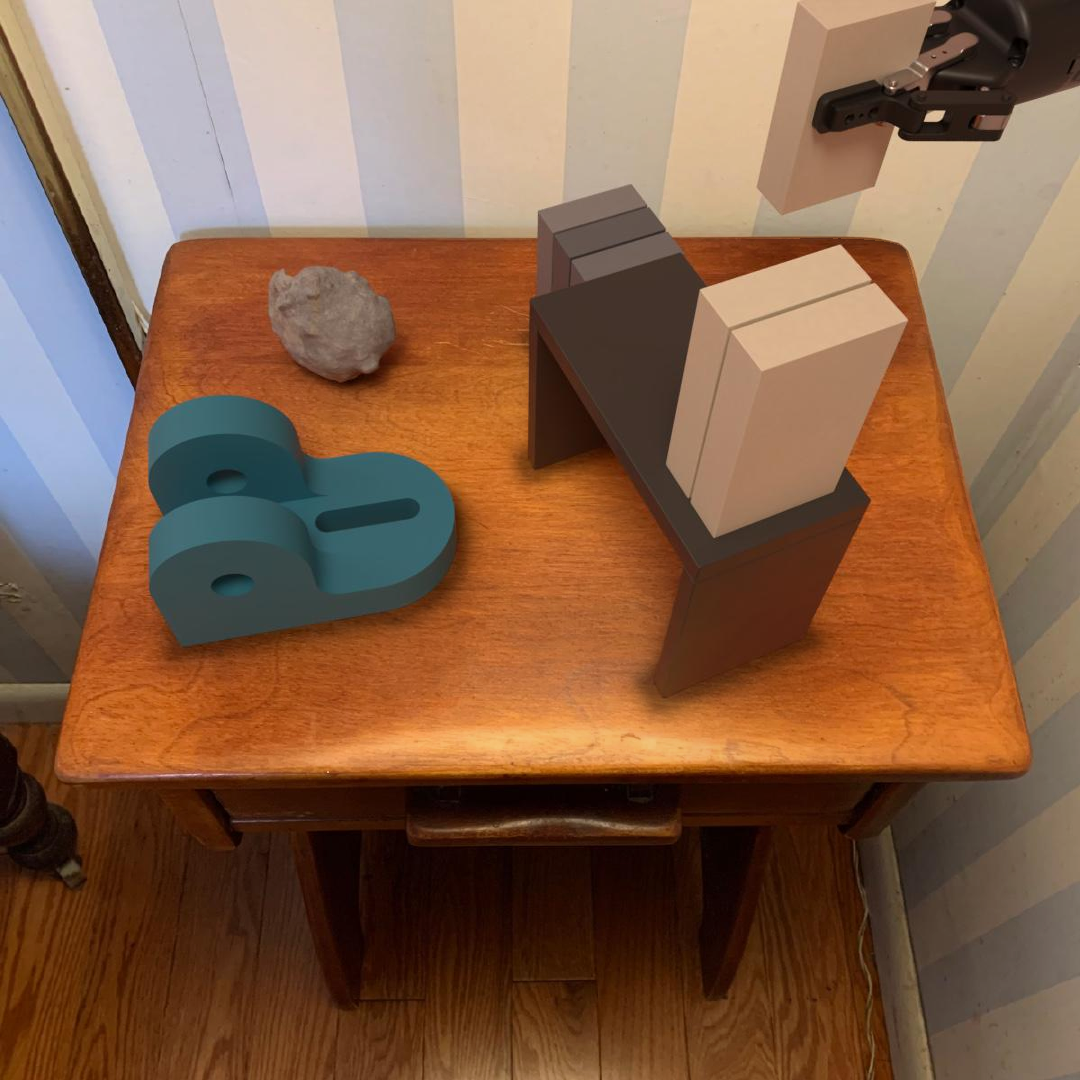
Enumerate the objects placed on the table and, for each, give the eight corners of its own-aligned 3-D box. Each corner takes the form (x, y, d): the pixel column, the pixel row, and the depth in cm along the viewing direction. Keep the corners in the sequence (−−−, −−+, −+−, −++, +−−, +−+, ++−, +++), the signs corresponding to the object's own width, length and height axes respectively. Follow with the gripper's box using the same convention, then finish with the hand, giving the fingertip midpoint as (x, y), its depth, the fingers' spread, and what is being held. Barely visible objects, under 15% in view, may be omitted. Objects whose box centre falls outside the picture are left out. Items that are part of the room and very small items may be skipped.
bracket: (181, 647, 63) (127, 556, 54) (178, 510, 69) (128, 407, 60) (469, 596, 66) (462, 501, 57) (443, 467, 71) (432, 363, 62)
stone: (403, 332, 78) (389, 227, 70) (402, 400, 74) (387, 297, 66) (280, 336, 78) (251, 231, 69) (273, 405, 74) (241, 302, 66)
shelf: (803, 639, 64) (872, 500, 52) (662, 698, 62) (698, 568, 49) (653, 413, 74) (681, 251, 62) (527, 458, 72) (529, 298, 59)
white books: (833, 492, 52) (909, 319, 42) (713, 538, 50) (761, 371, 40) (781, 422, 54) (840, 243, 44) (665, 464, 53) (699, 288, 43)
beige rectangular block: (874, 186, 66) (937, 0, 56) (780, 215, 64) (827, 29, 54) (848, 159, 67) (904, -27, 57) (756, 187, 65) (797, 0, 55)
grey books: (663, 380, 76) (685, 253, 66) (578, 409, 74) (587, 284, 64) (617, 312, 80) (631, 183, 70) (535, 339, 78) (537, 210, 68)
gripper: (990, -86, 63) (749, -28, 59) (1152, 31, 56) (891, 106, 52) (949, 32, 70) (728, 91, 66) (1090, 150, 63) (852, 225, 59)
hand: (801, 97), depth 59 cm, fingers closed on beige rectangular block, 3 cm apart
